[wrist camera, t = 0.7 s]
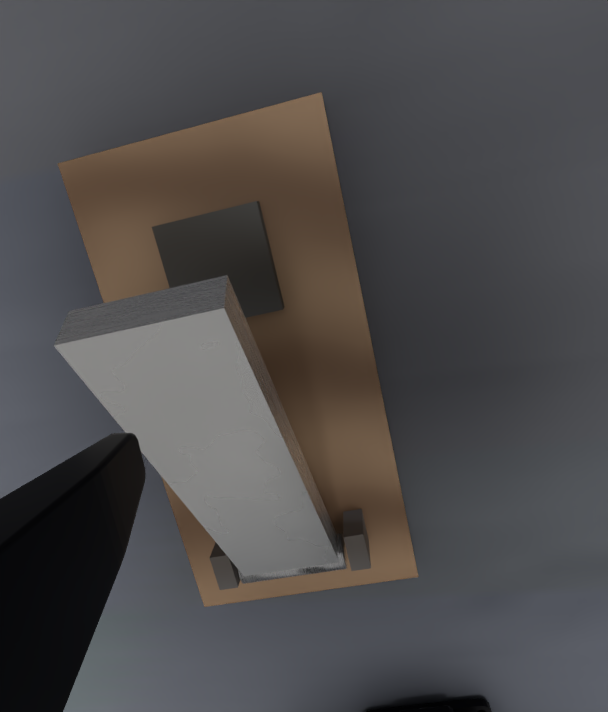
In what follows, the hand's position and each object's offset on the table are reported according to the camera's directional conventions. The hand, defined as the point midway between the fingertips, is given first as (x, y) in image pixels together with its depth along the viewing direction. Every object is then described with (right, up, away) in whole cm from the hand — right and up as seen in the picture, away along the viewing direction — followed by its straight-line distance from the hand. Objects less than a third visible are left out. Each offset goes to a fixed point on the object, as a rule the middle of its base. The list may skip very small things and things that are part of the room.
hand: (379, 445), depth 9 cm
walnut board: (-3, +1, +13) cm, 13 cm away
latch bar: (-3, -2, +8) cm, 9 cm away
